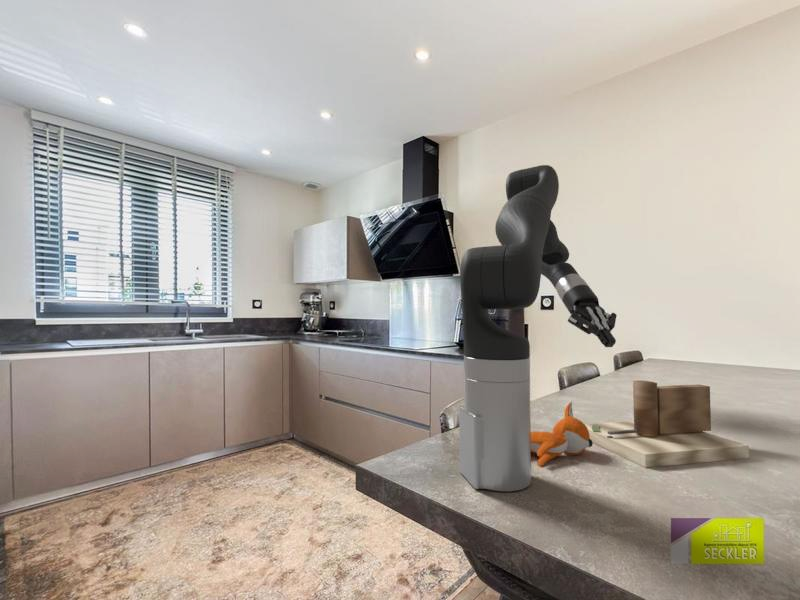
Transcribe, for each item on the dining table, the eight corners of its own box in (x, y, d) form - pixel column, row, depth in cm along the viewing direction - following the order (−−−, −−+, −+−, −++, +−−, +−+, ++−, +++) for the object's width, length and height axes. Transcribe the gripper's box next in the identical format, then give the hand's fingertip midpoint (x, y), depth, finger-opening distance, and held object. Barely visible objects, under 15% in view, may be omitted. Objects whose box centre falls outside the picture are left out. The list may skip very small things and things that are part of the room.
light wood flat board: (645, 467, 59) (645, 452, 59) (576, 435, 74) (576, 423, 74) (749, 458, 63) (748, 444, 63) (663, 429, 78) (663, 418, 78)
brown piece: (616, 439, 65) (615, 385, 65) (601, 432, 68) (600, 381, 69) (715, 432, 69) (714, 381, 69) (696, 426, 72) (695, 378, 73)
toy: (573, 443, 55) (600, 405, 66) (444, 416, 70) (484, 388, 81) (577, 496, 56) (603, 450, 67) (449, 458, 70) (488, 425, 82)
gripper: (559, 283, 97) (594, 334, 85) (604, 284, 100) (644, 333, 87) (547, 304, 102) (578, 355, 90) (591, 304, 105) (627, 354, 92)
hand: (611, 344), depth 89 cm, fingers closed
